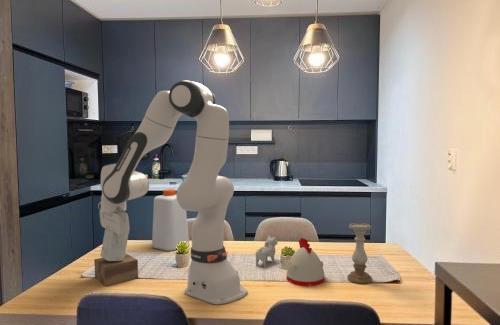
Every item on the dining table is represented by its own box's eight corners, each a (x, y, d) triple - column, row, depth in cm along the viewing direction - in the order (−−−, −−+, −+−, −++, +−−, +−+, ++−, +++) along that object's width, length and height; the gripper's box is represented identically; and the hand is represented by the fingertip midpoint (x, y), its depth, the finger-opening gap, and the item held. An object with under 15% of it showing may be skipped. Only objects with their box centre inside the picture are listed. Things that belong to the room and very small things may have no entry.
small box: (124, 261, 137) (130, 226, 138) (107, 261, 133) (113, 225, 134) (116, 256, 143) (122, 222, 144) (99, 256, 139) (106, 221, 140)
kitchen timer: (312, 270, 145) (312, 233, 144) (331, 282, 132) (331, 241, 131) (280, 275, 140) (280, 236, 139) (297, 288, 127) (297, 246, 126)
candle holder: (342, 277, 137) (342, 223, 136) (361, 274, 140) (362, 221, 139) (357, 285, 129) (357, 228, 128) (377, 282, 132) (377, 226, 131)
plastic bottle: (192, 244, 183) (191, 189, 182) (170, 252, 171) (168, 192, 169) (171, 240, 192) (170, 187, 190) (148, 247, 179) (146, 190, 178)
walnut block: (138, 278, 139) (137, 259, 138) (106, 286, 131) (105, 267, 131) (125, 269, 148) (125, 252, 148) (94, 277, 140) (94, 259, 140)
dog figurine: (280, 259, 159) (280, 235, 158) (264, 268, 148) (264, 242, 148) (270, 257, 162) (270, 233, 161) (253, 265, 151) (253, 240, 151)
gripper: (133, 208, 132) (134, 246, 133) (112, 201, 148) (113, 235, 148) (116, 210, 128) (117, 249, 129) (96, 203, 144) (97, 238, 144)
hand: (115, 242), depth 139 cm, fingers closed on small box, 8 cm apart
